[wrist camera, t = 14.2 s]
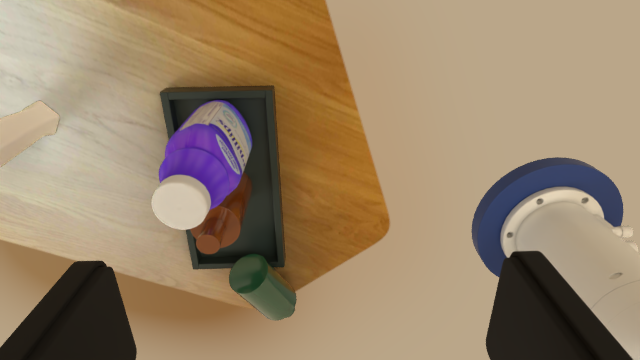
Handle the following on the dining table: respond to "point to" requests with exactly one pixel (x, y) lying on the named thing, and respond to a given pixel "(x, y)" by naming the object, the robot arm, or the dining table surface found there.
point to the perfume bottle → (25, 129)
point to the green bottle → (262, 287)
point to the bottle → (201, 164)
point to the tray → (262, 168)
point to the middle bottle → (224, 219)
